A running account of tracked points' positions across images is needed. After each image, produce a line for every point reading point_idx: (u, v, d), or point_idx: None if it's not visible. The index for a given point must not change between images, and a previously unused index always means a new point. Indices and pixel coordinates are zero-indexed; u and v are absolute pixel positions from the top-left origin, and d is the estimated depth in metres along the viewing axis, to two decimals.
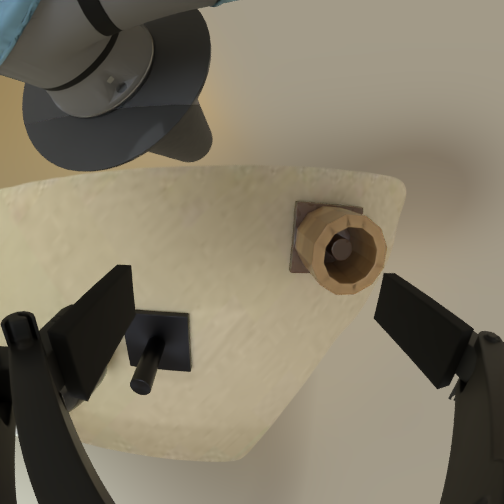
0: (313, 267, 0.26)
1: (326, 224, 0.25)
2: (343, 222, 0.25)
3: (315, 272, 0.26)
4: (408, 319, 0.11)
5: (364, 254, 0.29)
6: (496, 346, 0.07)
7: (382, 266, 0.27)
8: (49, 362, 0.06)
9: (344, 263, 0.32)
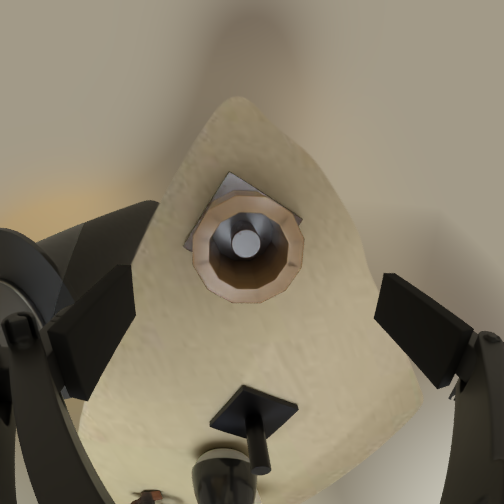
0: (235, 301, 0.21)
1: (193, 264, 0.20)
2: (200, 244, 0.20)
3: (242, 301, 0.21)
4: (408, 319, 0.11)
5: None
6: (496, 346, 0.07)
7: (289, 214, 0.20)
8: (49, 362, 0.06)
9: (275, 234, 0.25)
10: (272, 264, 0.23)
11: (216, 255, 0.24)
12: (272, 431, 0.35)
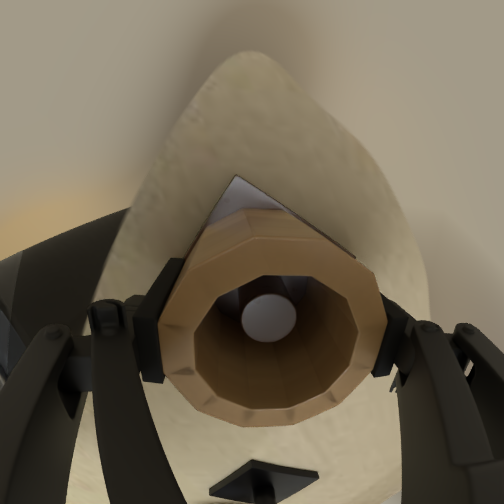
0: (247, 425, 0.10)
1: None
2: (174, 340, 0.09)
3: (261, 425, 0.10)
4: None
5: None
6: (436, 336, 0.08)
7: (369, 276, 0.09)
8: (133, 350, 0.08)
9: (317, 289, 0.14)
10: (313, 349, 0.12)
11: (212, 328, 0.13)
12: (285, 497, 0.24)
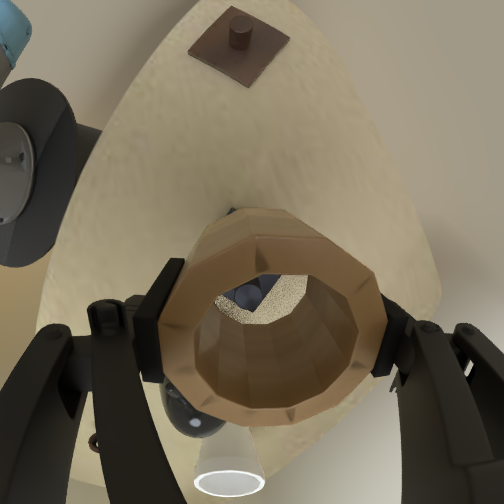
0: (247, 425, 0.10)
1: None
2: (174, 339, 0.09)
3: (261, 424, 0.10)
4: None
5: None
6: (436, 336, 0.08)
7: (369, 276, 0.09)
8: (133, 350, 0.08)
9: (317, 288, 0.14)
10: (313, 348, 0.12)
11: (212, 328, 0.13)
12: (266, 290, 0.33)
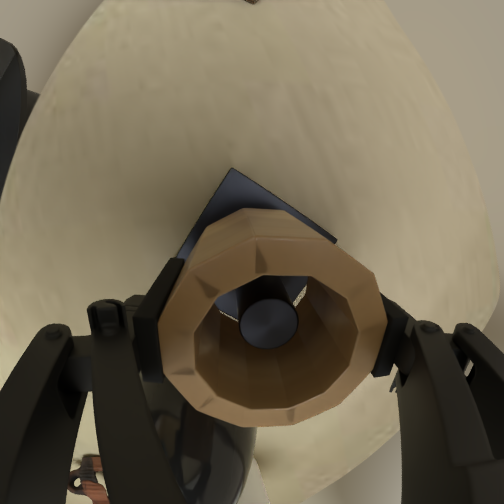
0: (247, 425, 0.10)
1: None
2: (174, 340, 0.09)
3: (261, 425, 0.10)
4: None
5: None
6: (436, 336, 0.08)
7: (369, 276, 0.09)
8: (133, 350, 0.08)
9: (317, 289, 0.14)
10: (313, 349, 0.12)
11: (212, 328, 0.13)
12: None
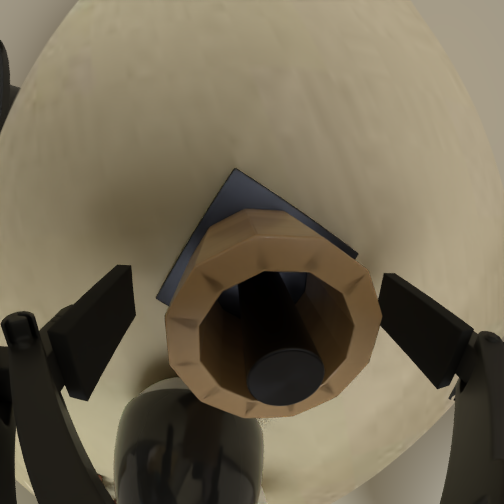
0: (249, 416, 0.11)
1: None
2: (180, 333, 0.09)
3: (262, 416, 0.11)
4: (408, 319, 0.11)
5: None
6: (496, 346, 0.07)
7: (363, 273, 0.09)
8: (49, 362, 0.06)
9: (315, 286, 0.15)
10: None
11: (215, 324, 0.14)
12: None
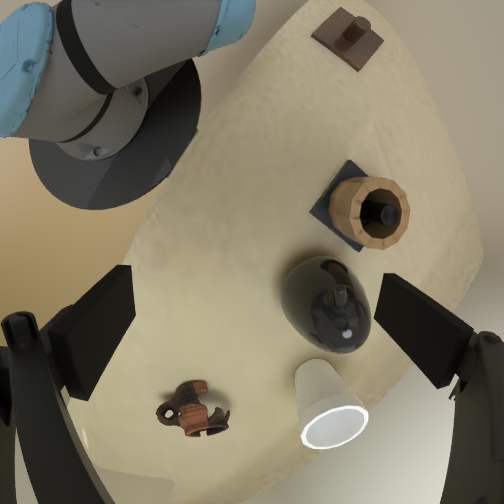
0: (369, 247, 0.30)
1: (348, 218, 0.29)
2: (355, 205, 0.28)
3: (373, 247, 0.30)
4: (408, 319, 0.11)
5: (386, 195, 0.31)
6: (496, 346, 0.07)
7: (404, 193, 0.28)
8: (49, 362, 0.06)
9: None
10: (384, 227, 0.32)
11: None
12: None
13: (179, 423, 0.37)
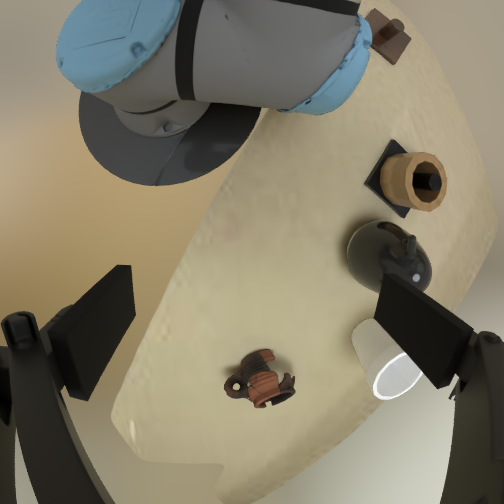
0: (420, 209, 0.33)
1: (404, 185, 0.32)
2: (409, 174, 0.31)
3: (423, 209, 0.33)
4: (408, 319, 0.11)
5: (426, 168, 0.34)
6: (496, 346, 0.07)
7: (442, 165, 0.31)
8: (49, 362, 0.06)
9: None
10: (426, 194, 0.35)
11: None
12: None
13: (248, 394, 0.41)
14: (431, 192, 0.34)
